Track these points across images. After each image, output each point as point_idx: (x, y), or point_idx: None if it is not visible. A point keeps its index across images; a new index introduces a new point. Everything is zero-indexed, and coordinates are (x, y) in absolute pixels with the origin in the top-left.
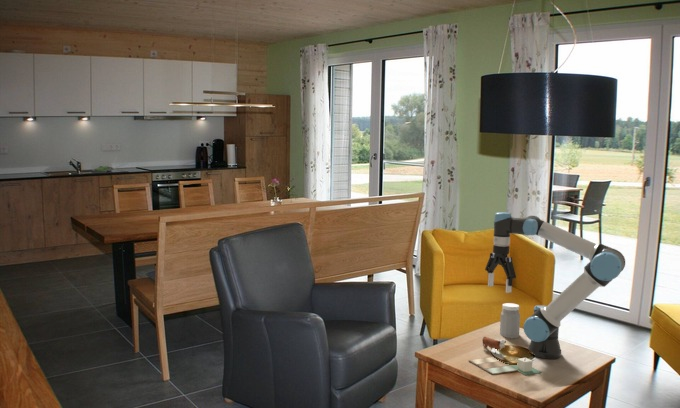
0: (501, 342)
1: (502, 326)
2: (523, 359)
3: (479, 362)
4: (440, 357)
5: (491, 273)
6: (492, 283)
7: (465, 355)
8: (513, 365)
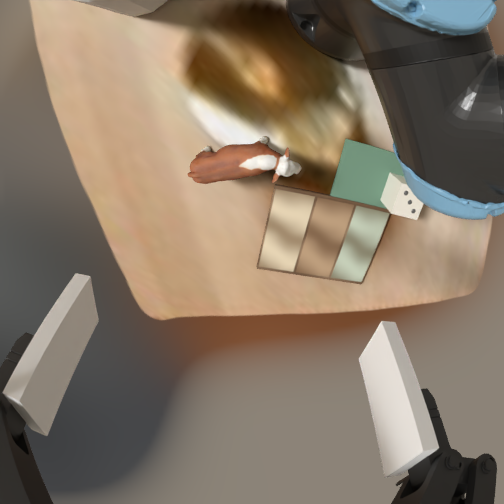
0: (287, 176)
1: (117, 9)
2: (405, 203)
3: (287, 257)
4: (196, 301)
5: (37, 419)
6: (79, 308)
7: (211, 240)
8: (359, 189)
